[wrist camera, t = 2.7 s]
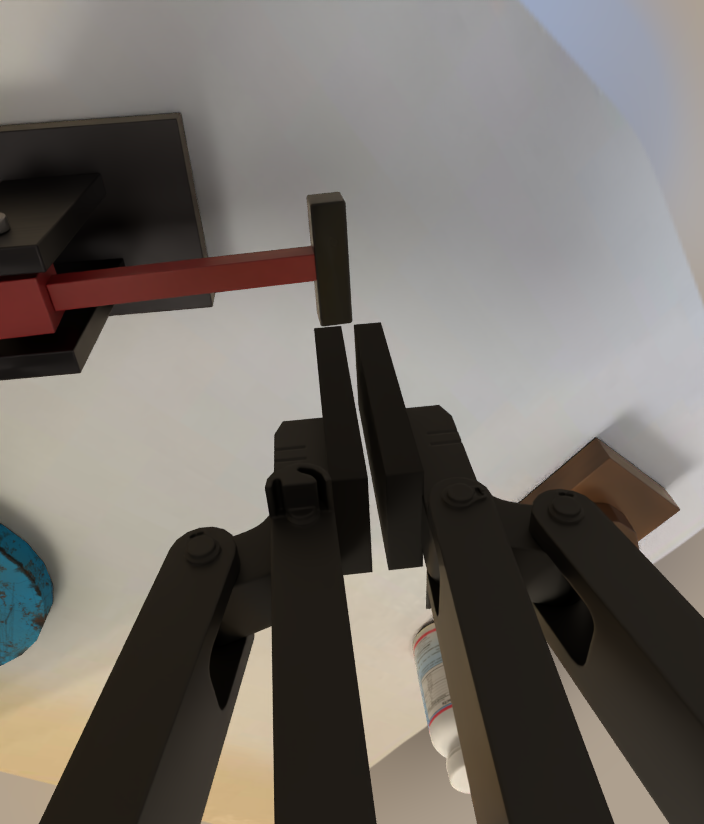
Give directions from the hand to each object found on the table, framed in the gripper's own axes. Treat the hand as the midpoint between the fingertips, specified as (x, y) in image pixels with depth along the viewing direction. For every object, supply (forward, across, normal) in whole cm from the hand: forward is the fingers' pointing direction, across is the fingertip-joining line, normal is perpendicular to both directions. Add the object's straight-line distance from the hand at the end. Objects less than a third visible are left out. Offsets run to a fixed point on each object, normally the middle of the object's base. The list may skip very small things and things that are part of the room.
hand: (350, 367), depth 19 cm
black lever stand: (+16, -12, 0) cm, 20 cm away
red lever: (+9, -6, 0) cm, 11 cm away
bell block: (+16, +16, -24) cm, 33 cm away
